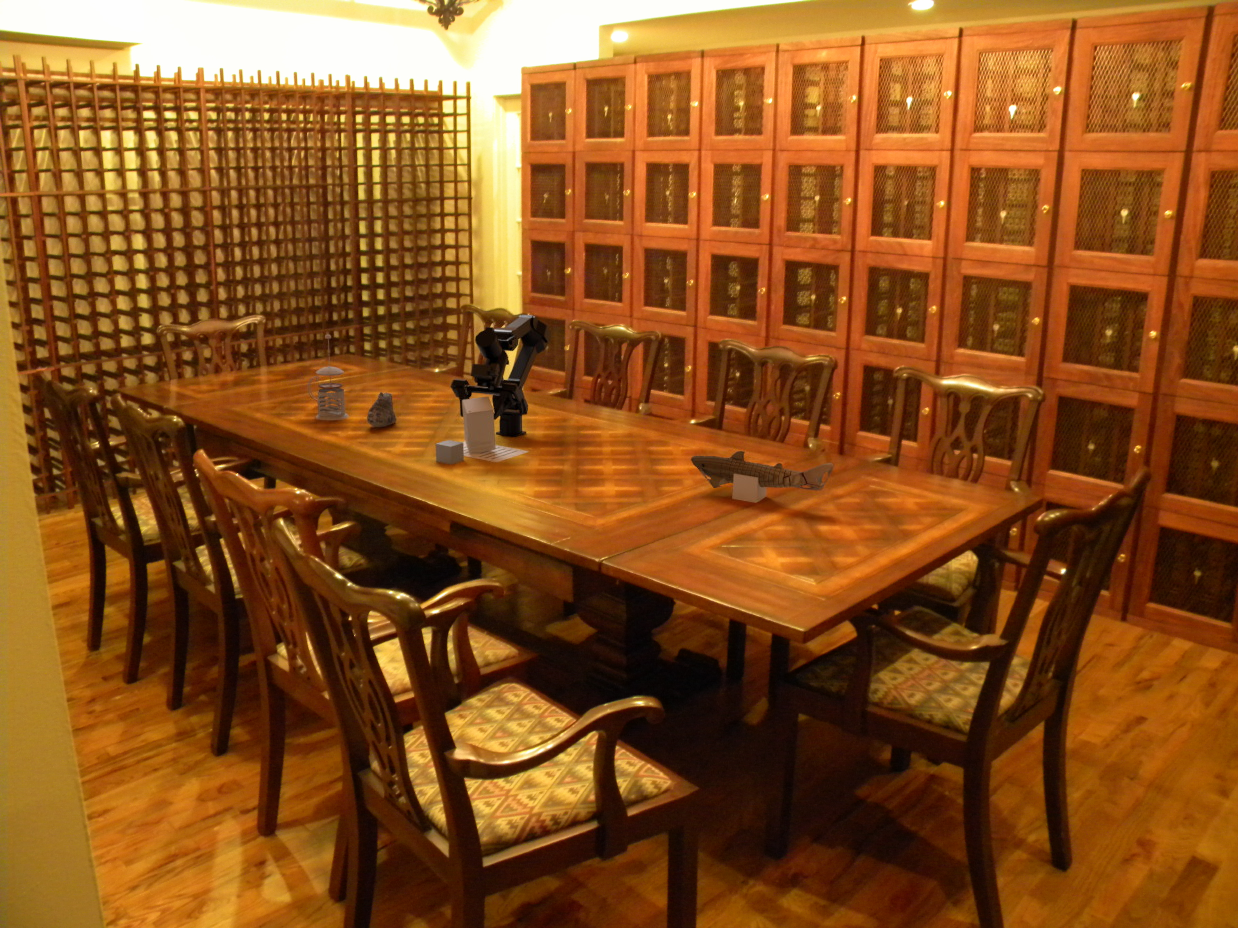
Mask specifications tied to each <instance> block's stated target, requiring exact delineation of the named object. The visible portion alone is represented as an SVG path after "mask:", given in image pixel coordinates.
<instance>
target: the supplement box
mask: <svg viewBox="0 0 1238 928" xmlns="http://www.w3.org/2000/svg"><path fill="white" fill-rule="evenodd" d="M462 409H463V417H462V420H463V431H464V441H465V442H466V445H467V448H468V451H469V453H476V452H483V451H490V450H495V449H496V445H497V444H496V432H495V431H496V430H495V420H494V408H493V403H492V402H491V399H490V397H489V396H482V397H475V398H470V399H466V400H462Z"/></svg>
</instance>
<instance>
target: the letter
mask: <svg viewBox="0 0 1238 928" xmlns="http://www.w3.org/2000/svg"><path fill="white" fill-rule="evenodd" d="M462 443H463V445H464V457H468V458H473V459H478V460H481V461H482V460H483V461H488V462H492V463H499V462H502V461H505V460H508V459H511V458H514V457H517V456H521V455H524V454H527V453H529V452H530V451H529V450H525V449H523V450H522V449H518V448H515V447H514V448H513V447H509V446H504V445H498V444H495V445H496V449H495V450H490V451H483V452H476V453H469V451H468V448H467V445H466V442H465V440H464V441H462Z"/></svg>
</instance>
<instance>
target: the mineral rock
mask: <svg viewBox="0 0 1238 928" xmlns="http://www.w3.org/2000/svg"><path fill="white" fill-rule="evenodd" d="M377 395H378V396H377V399H376V400H375V401H374V403H373V404H372V405H371V407H370V408H369V409H368V411H367V416H366V420H367V423H368V424H369V425H370V426H371V427H374V428H384V427H387V426H390V425H391V424H392V425H393V424H394V423H396V422H397V417H396V414H395V411H394V403H393V395H392V393H390V392H382V391H380V392H379V393H378V394H377Z"/></svg>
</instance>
